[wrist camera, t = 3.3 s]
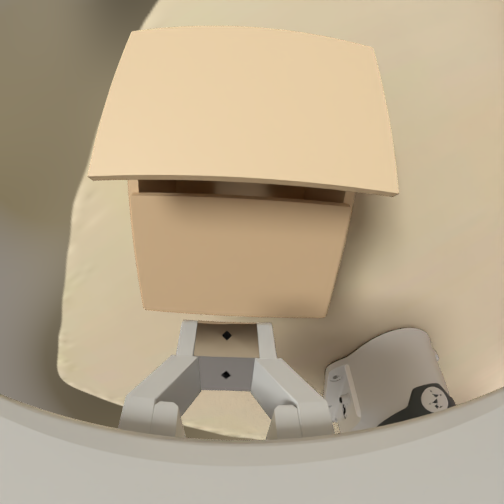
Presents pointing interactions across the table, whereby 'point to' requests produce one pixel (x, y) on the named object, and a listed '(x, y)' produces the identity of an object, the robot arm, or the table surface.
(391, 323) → the table surface
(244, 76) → the carton flap
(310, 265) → the kraft carton
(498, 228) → the table surface
